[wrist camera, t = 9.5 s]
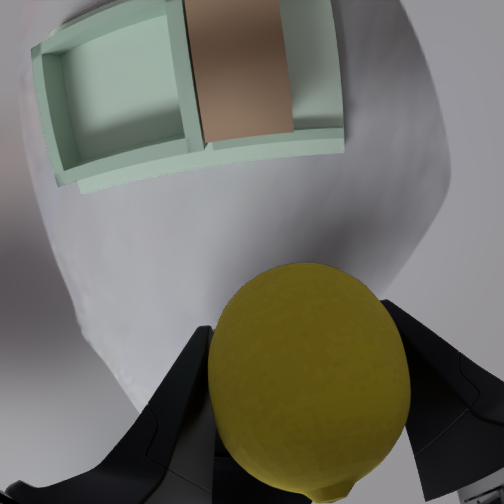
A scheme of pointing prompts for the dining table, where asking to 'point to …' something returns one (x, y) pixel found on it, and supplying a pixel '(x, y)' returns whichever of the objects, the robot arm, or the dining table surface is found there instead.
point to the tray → (169, 94)
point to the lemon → (308, 380)
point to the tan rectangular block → (239, 68)
